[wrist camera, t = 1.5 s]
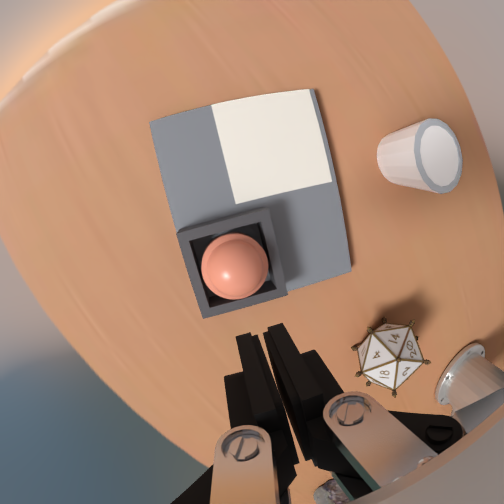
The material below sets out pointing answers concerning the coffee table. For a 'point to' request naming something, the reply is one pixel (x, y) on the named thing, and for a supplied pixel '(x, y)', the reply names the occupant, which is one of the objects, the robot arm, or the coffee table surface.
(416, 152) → the shot glass
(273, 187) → the board
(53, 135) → the coffee table surface
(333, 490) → the mineral rock
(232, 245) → the dome
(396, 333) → the game die
